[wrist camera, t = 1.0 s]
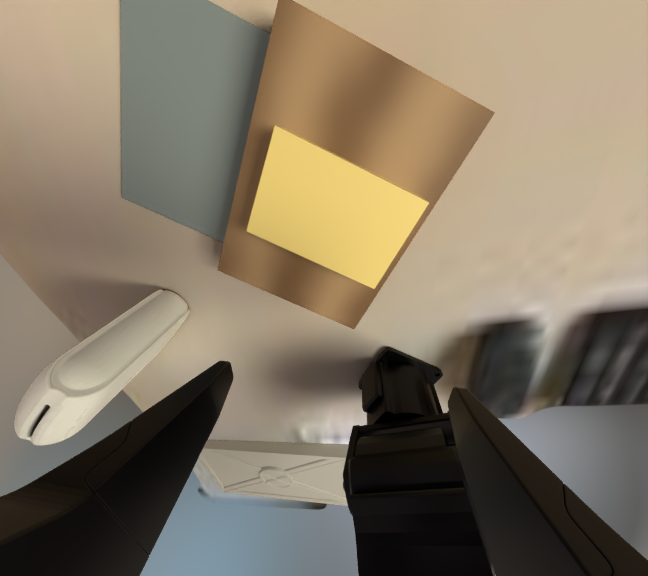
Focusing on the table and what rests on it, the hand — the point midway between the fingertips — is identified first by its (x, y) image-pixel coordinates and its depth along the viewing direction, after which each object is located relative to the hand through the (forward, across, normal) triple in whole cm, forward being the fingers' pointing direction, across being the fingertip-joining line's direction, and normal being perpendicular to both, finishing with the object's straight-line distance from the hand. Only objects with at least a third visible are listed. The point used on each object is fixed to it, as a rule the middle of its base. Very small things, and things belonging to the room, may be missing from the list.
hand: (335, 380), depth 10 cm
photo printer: (+13, +20, +8) cm, 25 cm away
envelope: (+14, +9, +36) cm, 39 cm away
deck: (+12, +2, -5) cm, 14 cm away
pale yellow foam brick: (+9, +1, -5) cm, 11 cm away
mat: (+12, +12, -9) cm, 19 cm away
